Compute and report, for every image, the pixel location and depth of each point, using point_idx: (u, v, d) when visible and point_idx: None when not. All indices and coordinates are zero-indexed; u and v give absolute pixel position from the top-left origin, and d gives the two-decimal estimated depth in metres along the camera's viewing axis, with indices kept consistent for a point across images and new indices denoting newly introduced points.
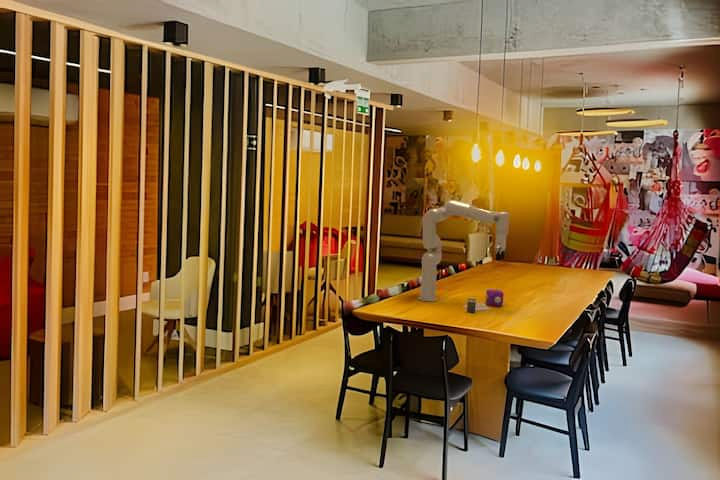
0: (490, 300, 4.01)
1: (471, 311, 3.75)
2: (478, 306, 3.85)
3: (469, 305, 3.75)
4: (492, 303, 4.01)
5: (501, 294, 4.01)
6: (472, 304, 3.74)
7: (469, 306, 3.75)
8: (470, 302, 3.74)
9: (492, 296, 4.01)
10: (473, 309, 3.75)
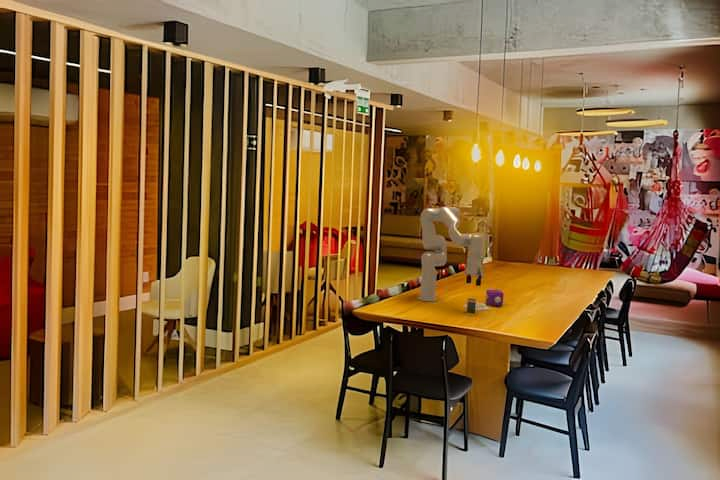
0: (490, 300, 4.01)
1: (471, 311, 3.75)
2: (478, 306, 3.85)
3: (469, 305, 3.75)
4: (492, 303, 4.01)
5: (501, 295, 4.01)
6: (472, 304, 3.74)
7: (469, 306, 3.75)
8: (470, 302, 3.74)
9: (492, 296, 4.01)
10: (473, 309, 3.75)
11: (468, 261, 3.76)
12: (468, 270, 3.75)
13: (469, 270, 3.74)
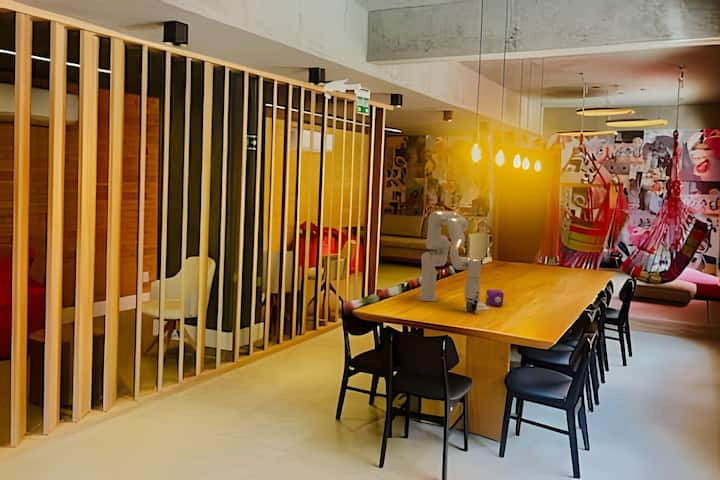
0: (490, 300, 4.01)
1: (471, 311, 3.75)
2: (478, 306, 3.85)
3: (469, 305, 3.75)
4: (492, 303, 4.01)
5: (501, 295, 4.01)
6: None
7: (469, 306, 3.75)
8: (470, 302, 3.74)
9: (492, 296, 4.01)
10: None
11: (466, 284, 3.77)
12: (466, 293, 3.77)
13: (467, 294, 3.75)
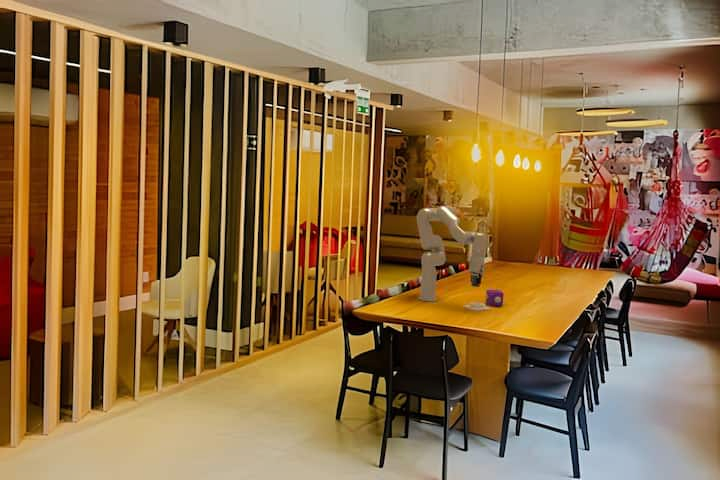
0: (490, 300, 4.01)
1: (475, 285, 3.80)
2: (478, 306, 3.85)
3: (473, 279, 3.80)
4: (492, 303, 4.01)
5: (501, 294, 4.01)
6: None
7: (473, 280, 3.80)
8: (474, 276, 3.79)
9: (492, 296, 4.01)
10: None
11: (471, 258, 3.82)
12: (471, 267, 3.82)
13: (472, 268, 3.80)
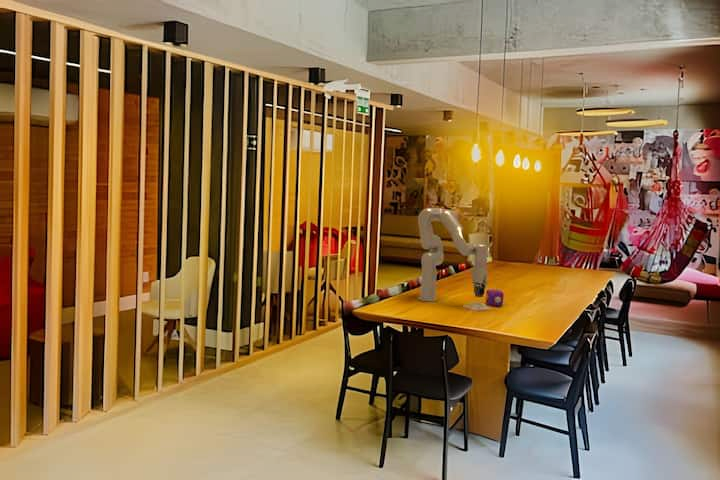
0: (490, 300, 4.01)
1: (479, 295, 3.86)
2: (478, 306, 3.85)
3: (477, 289, 3.87)
4: (492, 303, 4.01)
5: (501, 294, 4.01)
6: None
7: (477, 290, 3.87)
8: (478, 286, 3.86)
9: (492, 296, 4.01)
10: None
11: (474, 269, 3.89)
12: (474, 278, 3.89)
13: (475, 278, 3.87)
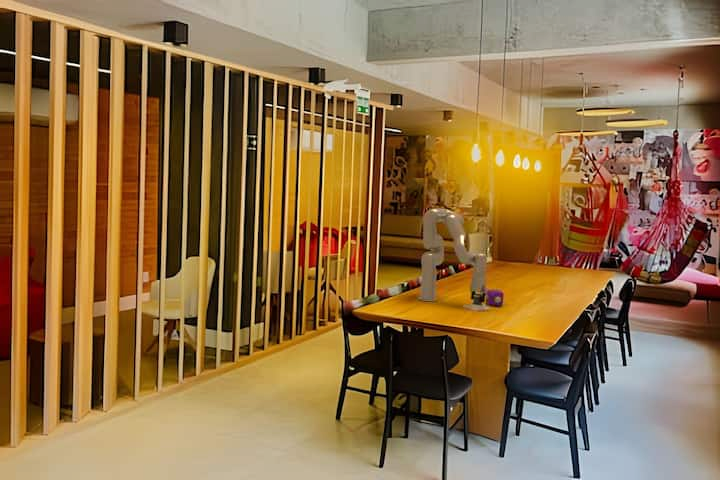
0: (490, 300, 4.01)
1: None
2: (478, 306, 3.85)
3: (475, 300, 3.88)
4: (492, 303, 4.01)
5: (501, 294, 4.01)
6: (478, 299, 3.87)
7: (475, 301, 3.88)
8: (476, 297, 3.87)
9: (492, 296, 4.01)
10: (479, 304, 3.88)
11: (473, 278, 3.90)
12: (473, 287, 3.89)
13: (474, 287, 3.88)
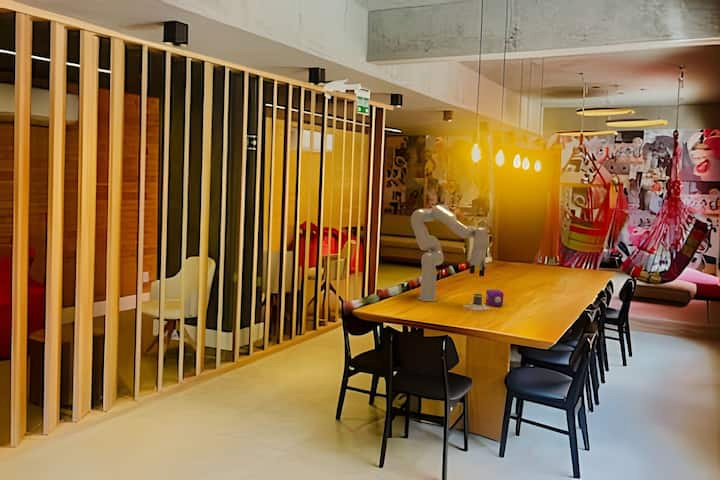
0: (490, 300, 4.01)
1: None
2: (478, 306, 3.85)
3: (475, 300, 3.88)
4: (492, 303, 4.01)
5: (501, 294, 4.01)
6: (478, 299, 3.87)
7: (475, 301, 3.88)
8: (476, 297, 3.87)
9: (492, 296, 4.01)
10: (479, 304, 3.88)
11: (472, 252, 3.88)
12: (472, 261, 3.88)
13: (473, 261, 3.87)
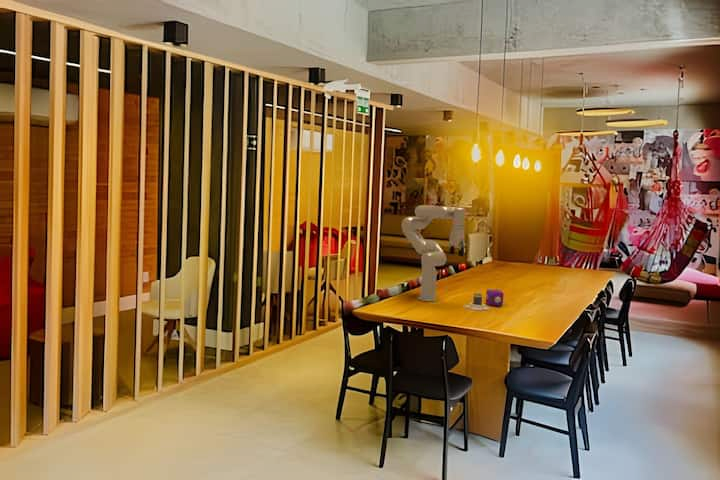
0: (490, 300, 4.01)
1: None
2: (478, 306, 3.85)
3: (475, 300, 3.88)
4: (492, 303, 4.01)
5: (501, 294, 4.01)
6: (478, 299, 3.87)
7: (475, 301, 3.88)
8: (476, 297, 3.87)
9: (492, 296, 4.01)
10: (479, 304, 3.88)
11: (451, 233, 3.90)
12: (451, 241, 3.90)
13: (452, 242, 3.89)
